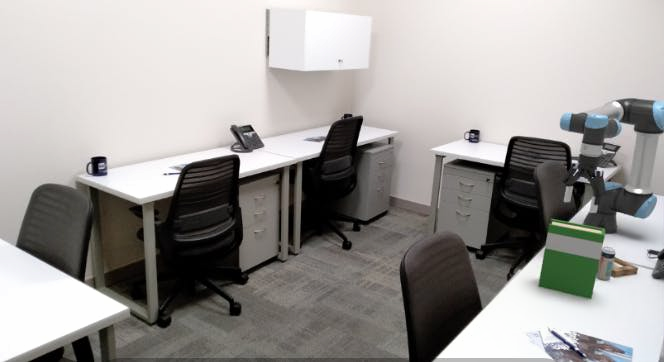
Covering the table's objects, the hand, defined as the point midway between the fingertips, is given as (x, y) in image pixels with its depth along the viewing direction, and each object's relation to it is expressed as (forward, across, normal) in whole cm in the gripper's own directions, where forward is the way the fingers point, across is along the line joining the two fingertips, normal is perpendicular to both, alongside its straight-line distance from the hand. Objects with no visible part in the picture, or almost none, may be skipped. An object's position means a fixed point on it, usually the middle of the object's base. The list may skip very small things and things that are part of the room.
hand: (579, 207), depth 209 cm
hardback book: (+24, +19, -19) cm, 36 cm away
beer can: (+24, +15, +3) cm, 28 cm away
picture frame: (+24, +10, +13) cm, 29 cm away
